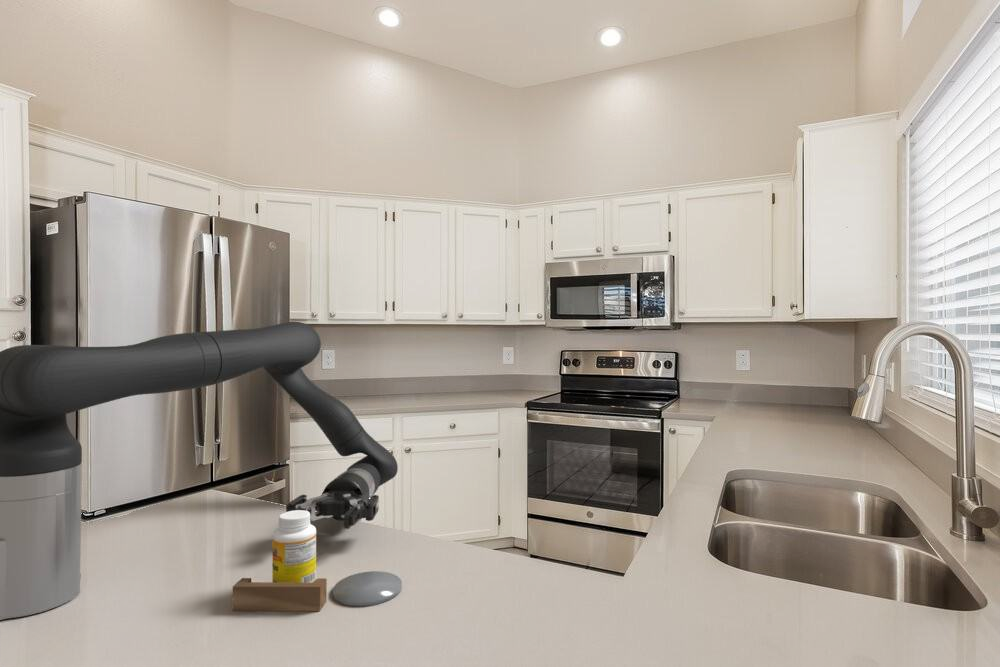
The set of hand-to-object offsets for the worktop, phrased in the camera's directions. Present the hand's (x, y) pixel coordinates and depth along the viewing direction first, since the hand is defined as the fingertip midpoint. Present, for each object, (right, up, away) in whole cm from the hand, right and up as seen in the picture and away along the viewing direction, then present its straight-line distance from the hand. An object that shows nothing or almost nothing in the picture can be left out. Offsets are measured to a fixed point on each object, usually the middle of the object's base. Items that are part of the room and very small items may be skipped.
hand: (318, 522), depth 82 cm
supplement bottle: (0, -6, -9) cm, 11 cm away
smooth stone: (+10, -6, -10) cm, 15 cm away
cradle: (0, -6, -14) cm, 15 cm away
